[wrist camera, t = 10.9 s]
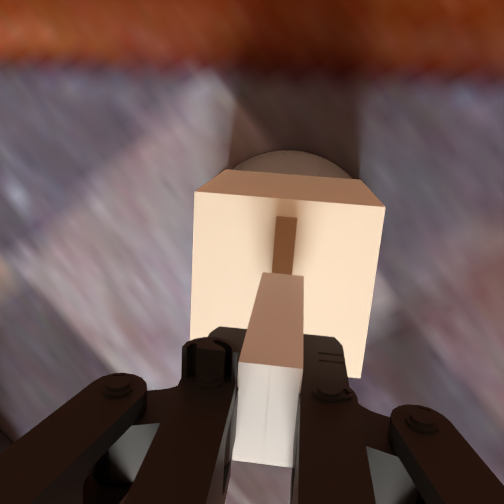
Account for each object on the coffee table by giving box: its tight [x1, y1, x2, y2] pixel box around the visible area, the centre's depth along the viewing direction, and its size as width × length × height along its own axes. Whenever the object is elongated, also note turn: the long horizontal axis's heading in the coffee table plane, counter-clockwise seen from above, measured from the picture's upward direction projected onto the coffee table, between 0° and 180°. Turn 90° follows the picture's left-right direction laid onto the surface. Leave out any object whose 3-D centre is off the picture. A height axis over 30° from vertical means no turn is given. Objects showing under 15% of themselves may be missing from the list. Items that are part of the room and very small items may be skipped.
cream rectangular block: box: [190, 169, 385, 378], centre depth 23 cm, size 7×7×9 cm
